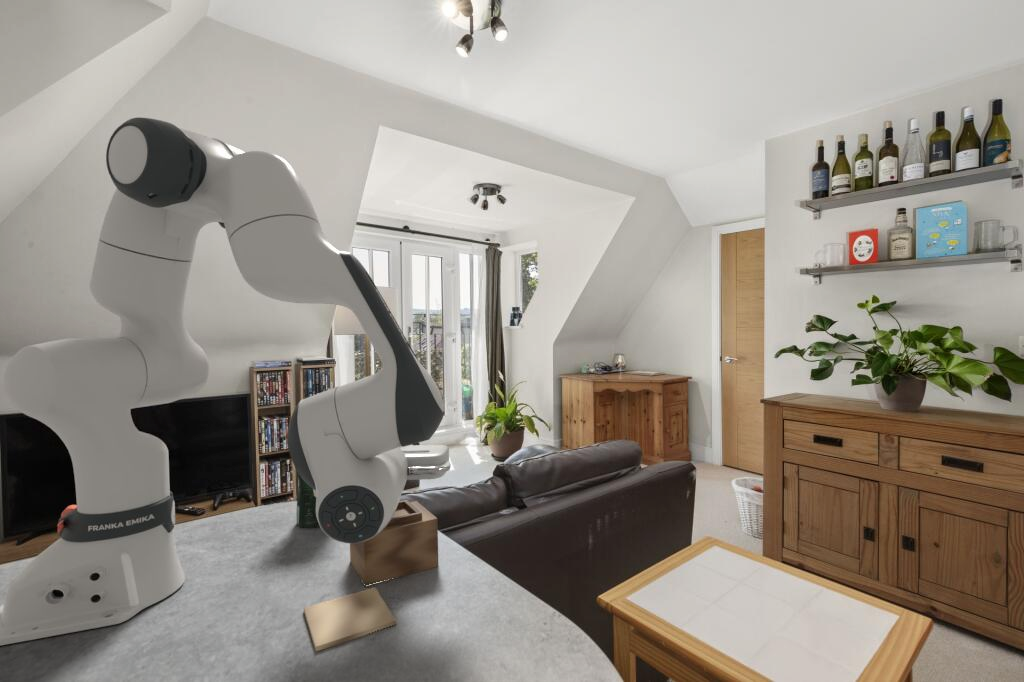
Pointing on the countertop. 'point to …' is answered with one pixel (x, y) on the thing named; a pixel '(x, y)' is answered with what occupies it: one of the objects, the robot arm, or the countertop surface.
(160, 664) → the countertop surface
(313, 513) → the coffee jar
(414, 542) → the walnut box
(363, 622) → the cork mat
